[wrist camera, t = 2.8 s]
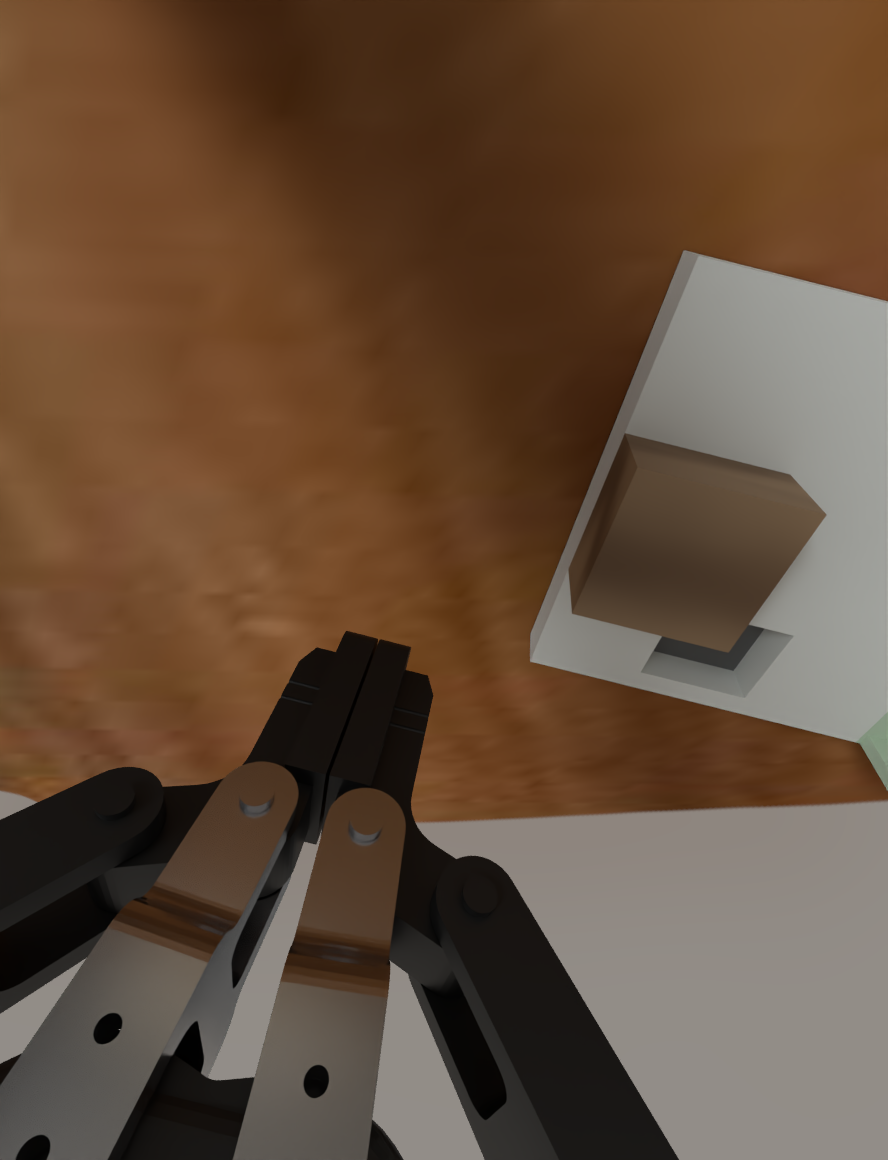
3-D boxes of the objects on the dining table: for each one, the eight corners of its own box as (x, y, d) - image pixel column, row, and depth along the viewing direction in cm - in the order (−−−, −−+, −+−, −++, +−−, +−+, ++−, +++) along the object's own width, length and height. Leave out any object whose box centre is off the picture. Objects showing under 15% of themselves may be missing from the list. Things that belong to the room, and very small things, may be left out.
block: (624, 433, 19) (637, 467, 17) (790, 474, 19) (826, 514, 17) (568, 569, 23) (572, 613, 20) (707, 604, 23) (728, 652, 20)
